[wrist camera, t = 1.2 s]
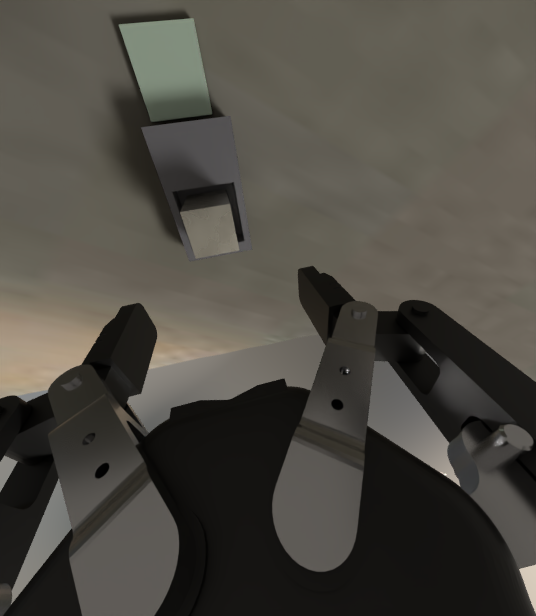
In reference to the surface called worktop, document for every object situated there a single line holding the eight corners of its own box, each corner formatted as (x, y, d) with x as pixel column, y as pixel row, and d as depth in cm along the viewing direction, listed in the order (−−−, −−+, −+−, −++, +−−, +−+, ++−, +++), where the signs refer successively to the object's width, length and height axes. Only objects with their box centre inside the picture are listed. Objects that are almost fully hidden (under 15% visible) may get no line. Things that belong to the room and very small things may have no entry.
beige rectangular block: (187, 195, 26) (179, 212, 19) (225, 189, 26) (229, 203, 20) (199, 233, 28) (195, 258, 22) (233, 227, 29) (239, 250, 23)
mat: (120, 27, 18) (118, 24, 18) (193, 21, 19) (193, 18, 18) (152, 122, 22) (151, 121, 21) (212, 114, 22) (212, 114, 22)
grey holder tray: (149, 129, 22) (140, 127, 19) (227, 119, 23) (230, 115, 20) (191, 250, 30) (189, 261, 27) (248, 240, 31) (252, 249, 28)
